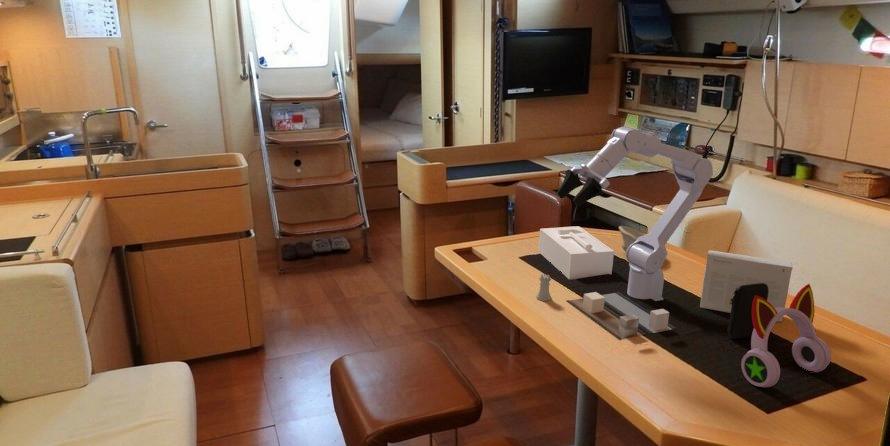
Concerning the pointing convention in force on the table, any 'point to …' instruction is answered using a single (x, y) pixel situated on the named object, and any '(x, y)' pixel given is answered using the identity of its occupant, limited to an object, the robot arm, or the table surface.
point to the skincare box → (743, 279)
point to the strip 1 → (614, 321)
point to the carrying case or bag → (744, 309)
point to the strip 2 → (641, 313)
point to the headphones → (805, 348)
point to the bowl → (629, 236)
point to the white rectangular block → (575, 252)
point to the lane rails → (617, 316)
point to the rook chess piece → (544, 288)
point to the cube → (593, 302)
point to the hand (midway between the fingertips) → (567, 199)
